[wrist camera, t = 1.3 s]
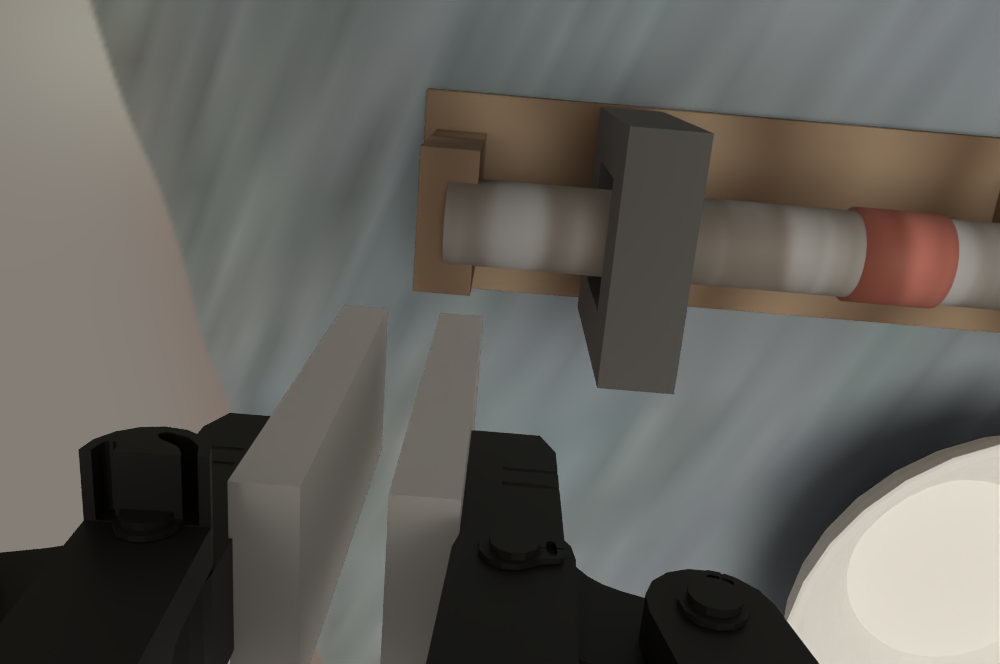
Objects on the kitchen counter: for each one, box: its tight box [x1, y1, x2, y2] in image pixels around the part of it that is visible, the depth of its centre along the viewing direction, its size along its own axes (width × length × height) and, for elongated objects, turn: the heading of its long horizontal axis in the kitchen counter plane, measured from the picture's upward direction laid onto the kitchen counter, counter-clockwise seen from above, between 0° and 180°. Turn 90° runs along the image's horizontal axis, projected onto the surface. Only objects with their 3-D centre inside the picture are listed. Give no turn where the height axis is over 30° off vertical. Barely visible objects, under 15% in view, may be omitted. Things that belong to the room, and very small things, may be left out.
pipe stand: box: [413, 88, 1000, 333], centre depth 33 cm, size 26×8×9 cm, turn 85°
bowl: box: [784, 435, 1000, 664], centre depth 39 cm, size 20×20×7 cm
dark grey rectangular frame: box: [578, 107, 714, 394], centre depth 30 cm, size 2×8×9 cm, turn 175°
